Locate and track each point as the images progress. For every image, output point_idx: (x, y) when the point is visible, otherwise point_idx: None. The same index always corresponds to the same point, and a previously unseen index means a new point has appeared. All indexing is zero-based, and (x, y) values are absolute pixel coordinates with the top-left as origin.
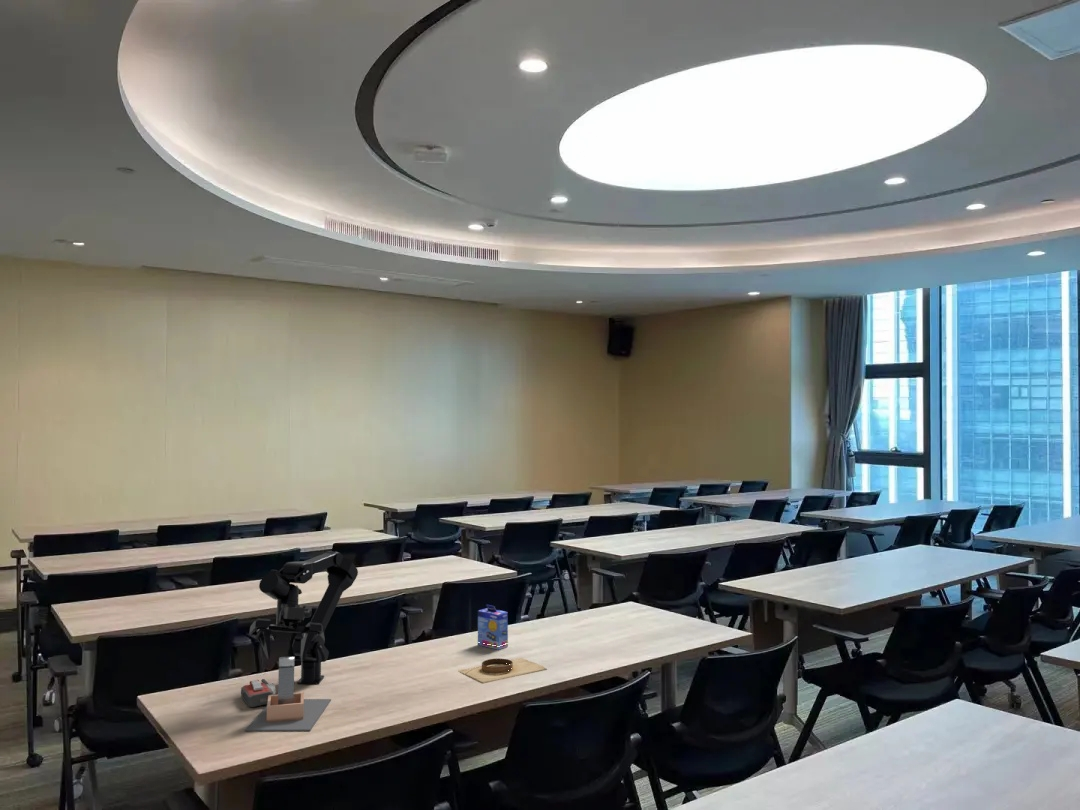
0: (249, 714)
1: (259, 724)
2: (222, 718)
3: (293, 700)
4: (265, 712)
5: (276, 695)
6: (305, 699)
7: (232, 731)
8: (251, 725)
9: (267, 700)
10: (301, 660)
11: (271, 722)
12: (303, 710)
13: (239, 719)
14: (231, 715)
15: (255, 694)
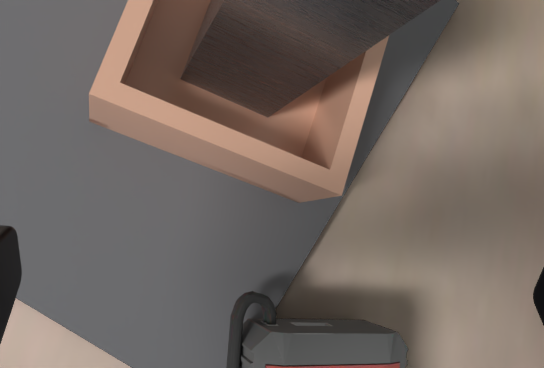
0: (386, 230)
1: None
2: (502, 250)
3: (208, 15)
4: None
5: (295, 156)
6: None
7: (494, 45)
8: (424, 33)
9: (282, 321)
10: (20, 261)
11: None
12: None
13: (441, 184)
14: (461, 269)
15: (375, 350)
